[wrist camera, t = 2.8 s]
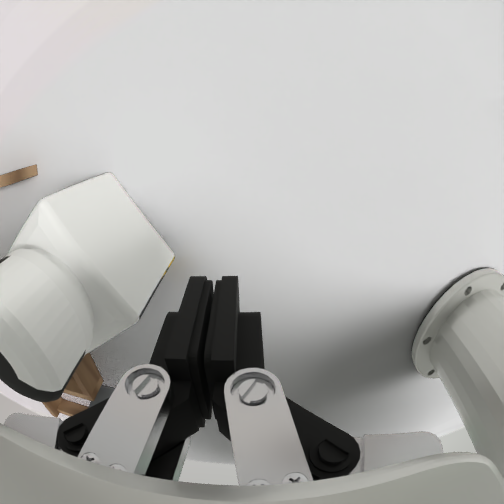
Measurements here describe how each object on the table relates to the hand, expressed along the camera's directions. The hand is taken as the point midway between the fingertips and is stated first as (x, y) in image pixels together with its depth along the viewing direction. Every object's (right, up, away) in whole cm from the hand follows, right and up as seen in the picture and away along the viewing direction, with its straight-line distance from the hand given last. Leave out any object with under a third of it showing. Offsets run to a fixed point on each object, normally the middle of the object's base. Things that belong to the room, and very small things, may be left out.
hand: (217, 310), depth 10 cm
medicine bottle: (-8, +3, +8) cm, 12 cm away
